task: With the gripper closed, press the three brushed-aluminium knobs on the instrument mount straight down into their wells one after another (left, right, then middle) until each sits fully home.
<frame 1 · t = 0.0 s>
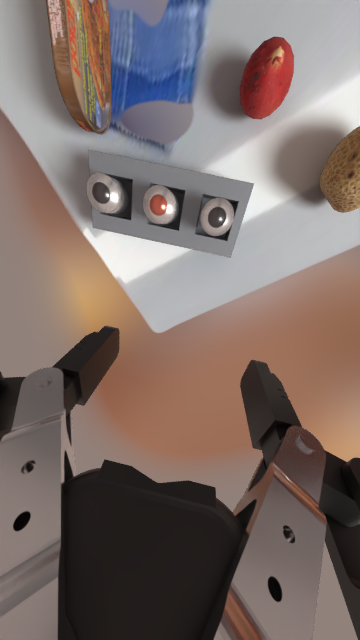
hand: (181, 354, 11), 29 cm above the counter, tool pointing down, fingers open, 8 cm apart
tin: (101, 73, 25), on the counter
brown oval lump: (336, 176, 27), on the counter
onion: (257, 102, 25), on the counter
mount: (171, 210, 32), on the counter
knob mid: (161, 206, 25), point 8 cm above the counter, slide at 0.0 cm
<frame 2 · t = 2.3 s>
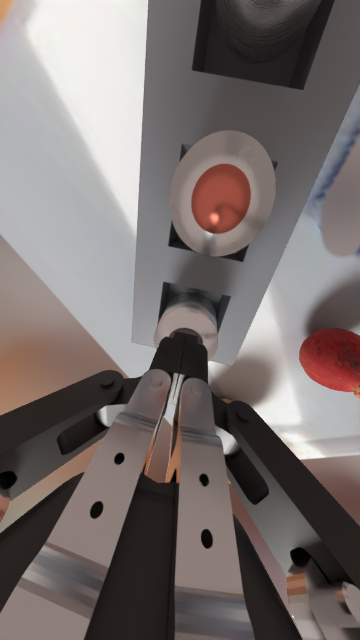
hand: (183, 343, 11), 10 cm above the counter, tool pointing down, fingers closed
onion: (313, 336, 21), on the counter
mount: (213, 214, 16), on the counter
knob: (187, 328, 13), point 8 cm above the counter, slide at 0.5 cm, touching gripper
knob mid: (217, 206, 9), point 8 cm above the counter, slide at 0.0 cm
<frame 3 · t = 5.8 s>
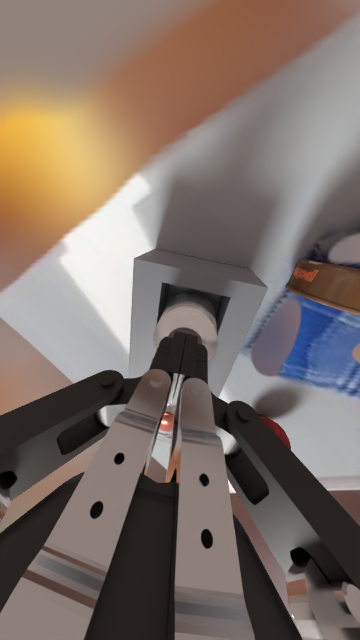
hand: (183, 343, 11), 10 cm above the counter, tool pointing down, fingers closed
tin: (353, 279, 17), on the counter
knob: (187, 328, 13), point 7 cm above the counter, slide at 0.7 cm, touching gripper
onion: (259, 415, 28), on the counter
mount: (181, 348, 24), on the counter
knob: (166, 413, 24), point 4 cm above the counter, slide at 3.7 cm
knob mid: (170, 401, 17), point 8 cm above the counter, slide at 0.0 cm
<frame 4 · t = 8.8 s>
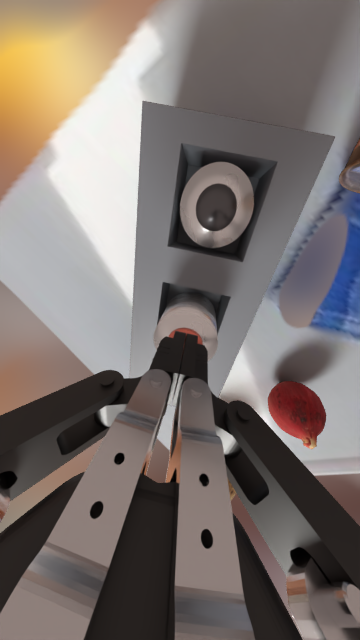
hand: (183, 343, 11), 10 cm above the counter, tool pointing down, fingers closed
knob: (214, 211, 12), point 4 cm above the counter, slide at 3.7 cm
onion: (282, 382, 25), on the counter
mount: (194, 294, 20), on the counter
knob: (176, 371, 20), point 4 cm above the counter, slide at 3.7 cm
knob mid: (187, 328, 13), point 8 cm above the counter, slide at 0.6 cm, touching gripper
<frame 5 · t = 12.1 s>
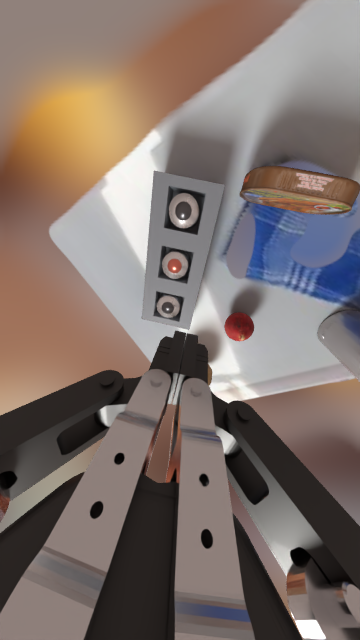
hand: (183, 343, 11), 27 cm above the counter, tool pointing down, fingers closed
tin: (283, 197, 28), on the counter
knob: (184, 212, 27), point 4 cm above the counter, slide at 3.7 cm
onion: (236, 317, 40), on the counter
mount: (179, 259, 35), on the counter
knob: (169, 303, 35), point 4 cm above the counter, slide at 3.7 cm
knob mid: (176, 263, 31), point 4 cm above the counter, slide at 3.7 cm
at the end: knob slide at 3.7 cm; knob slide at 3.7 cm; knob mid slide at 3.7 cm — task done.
